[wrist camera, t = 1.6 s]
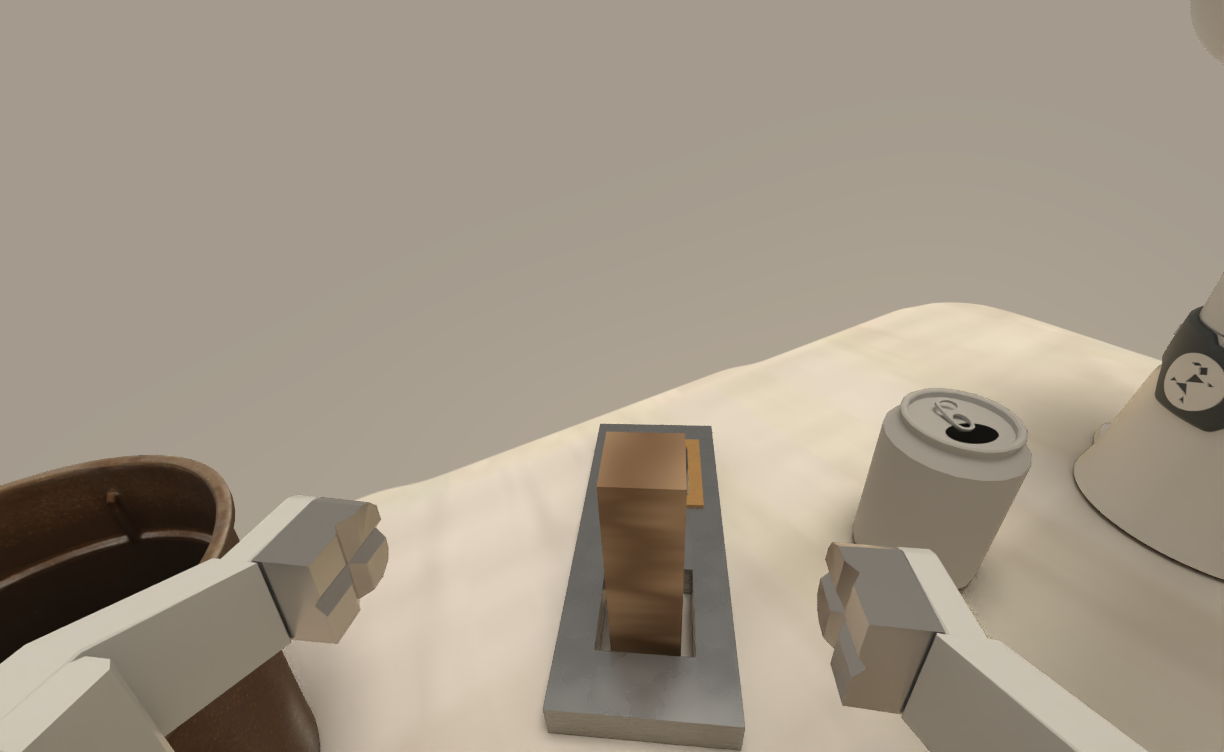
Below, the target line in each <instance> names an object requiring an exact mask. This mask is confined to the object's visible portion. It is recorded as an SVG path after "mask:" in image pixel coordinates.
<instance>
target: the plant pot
mask: <svg viewBox="0 0 1224 752" xmlns="http://www.w3.org/2000/svg"><path fill="white" fill-rule="evenodd" d="M234 522H235V507H234V501H233V498H232V494H231V492H230V490H229V488H228V486H227V484H226V482H225V481H224V479H223V478H222V477H221V476H220V475H219V474H218V473H217V472H216V471H215V470H214V469H212V468H211V467H209V466H207V465H205V464H203V463H200V462H197V461H194V460H191V459H187V458H183V457H175V456H164V455H138V456H124V457H116V458H108V459H101V460H95V461H89V462H84V463H80V464H75V465H71V466H66V467H62V468H58V469H54V470H51V471H47V472H43V473H39V474H36V475H33V476H29V477H26V478H22V479H19V480H16V481H13V482H10V483H7V484H4V485H0V664H1V663H2V662H3V661H5V660H6V659H7V658H9V657H10V656H11V655H12V654H14V653H15V652H16V651H18V650H19V649H20V648H22V647H23V646H24V645H26V644H28V643H30V642H32V641H34V640H36V639H39V638H41V637H43V636H45V635H47V634H49V633H52V632H54V631H56V630H58V629H60V628H62V627H65V626H67V625H69V624H71V623H73V622H75V621H78V620H80V619H82V618H84V617H86V616H88V615H91V614H93V613H95V612H97V611H99V610H101V609H104V608H106V607H108V606H110V605H112V604H114V603H117V602H119V601H121V600H123V599H125V598H127V597H130V596H132V595H134V594H136V593H138V592H140V591H143V590H145V589H147V588H149V587H151V586H153V585H156V584H158V583H160V582H162V581H164V580H166V579H169V578H171V577H173V576H175V575H177V574H179V573H182V572H184V571H186V570H188V569H190V568H192V567H195V566H197V565H199V564H201V563H203V562H205V561H208V560H210V559H212V558H216V559H221V558H222V557H223V556H224V555H225V554H227V553H228V552H229V551H230V550H231V549H232V548H233V547H234V546H235V545H236V544H238V543H239V542H240V541H239V538H238V536H237V534H236V532H235V530H234ZM165 739H166V740H167V742H168V743H169V744H170V746H171V747H172V749H173V750H174V752H319V735H318V729H317V725H316V722H315V718H314V716H313V713H312V711H311V709H310V707H309V705H308V704H307V702H306V700H305V698H304V696H303V694H302V692H301V690H300V688H299V685H298V683H297V681H296V679H295V677H294V675H293V673H292V671H291V669H290V667H289V665H288V663H287V661H286V658H285V656H284V654H283V652H282V650H280V651H279V652H278V653H276V654H275V655H274V656H272V657H271V658H270V659H268V660H267V661H266V662H264V663H263V664H262V665H260V666H259V667H258V668H256V669H255V670H254V671H252V672H251V673H250V674H248V675H247V676H245V677H244V678H243V679H241V680H240V681H239V682H237V683H236V684H235V685H233V686H232V687H231V688H229V689H228V690H227V691H225V692H224V693H223V694H221V695H220V696H219V697H217V698H216V699H215V700H213V701H212V702H211V703H209V704H208V705H207V706H205V707H204V708H203V709H201V710H200V711H198V712H197V713H196V714H194V715H193V716H192V717H190V718H189V719H188V720H186V721H185V722H184V723H182V724H181V725H180V726H178V727H177V728H176V729H174V730H173V731H172V732H170V733H169V734H168V735H166V736H165Z"/></svg>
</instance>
